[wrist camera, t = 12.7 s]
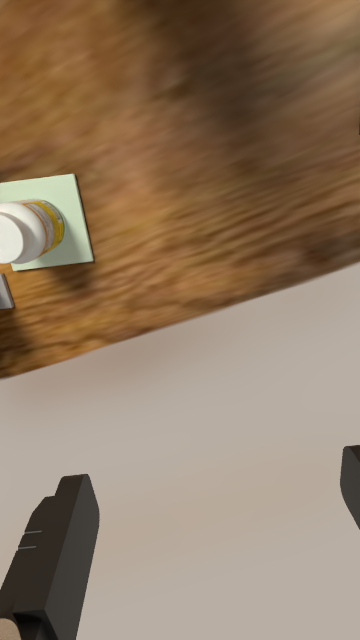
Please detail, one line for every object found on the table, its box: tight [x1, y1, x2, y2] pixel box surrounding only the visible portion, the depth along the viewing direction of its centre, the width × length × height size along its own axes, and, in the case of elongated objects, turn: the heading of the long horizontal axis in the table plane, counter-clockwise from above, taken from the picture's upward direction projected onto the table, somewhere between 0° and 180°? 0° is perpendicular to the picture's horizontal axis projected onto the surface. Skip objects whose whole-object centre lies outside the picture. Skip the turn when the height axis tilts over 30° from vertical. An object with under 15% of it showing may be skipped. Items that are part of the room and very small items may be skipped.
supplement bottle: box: [0, 199, 66, 264], centre depth 31 cm, size 5×5×10 cm
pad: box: [0, 174, 94, 271], centre depth 36 cm, size 9×9×1 cm
